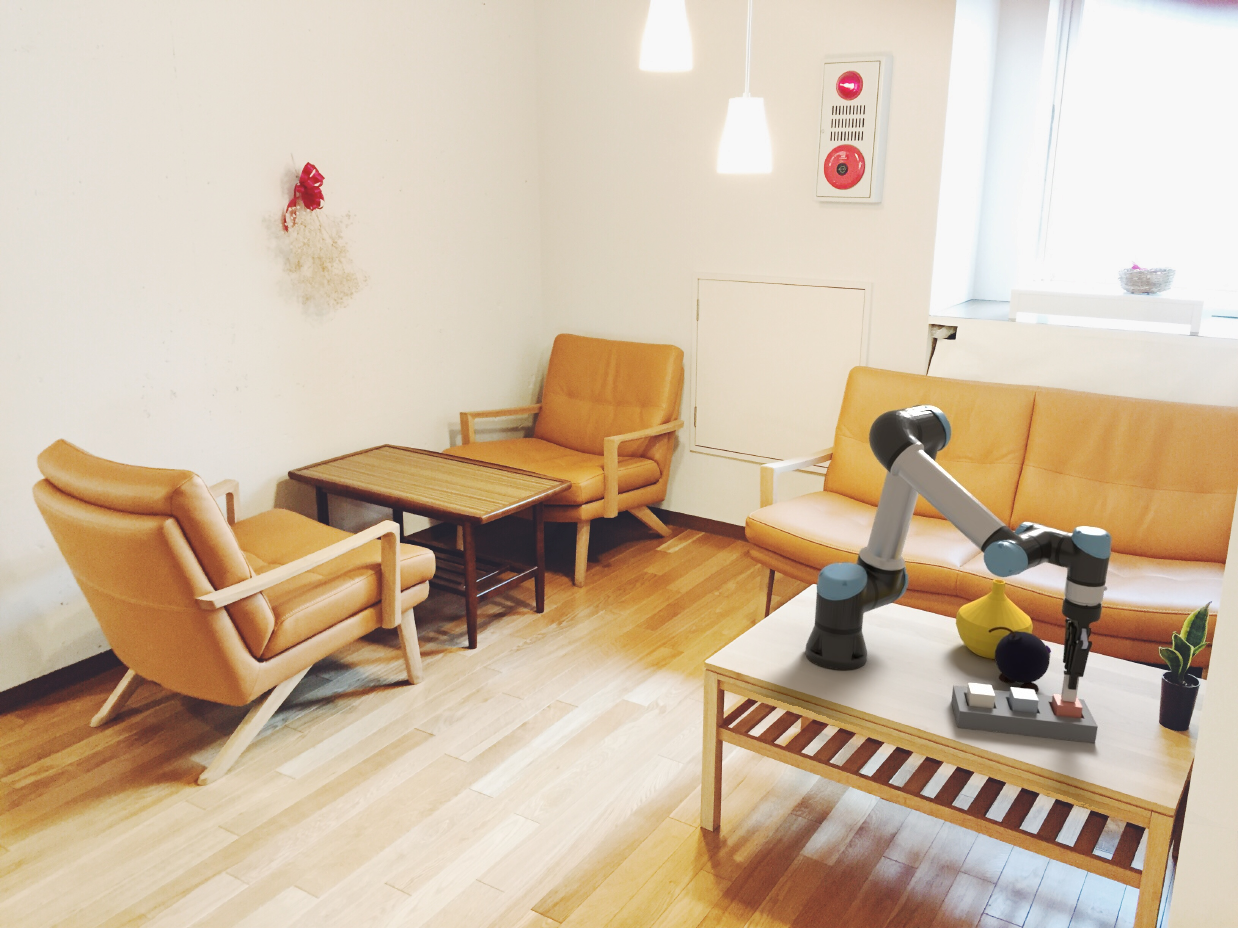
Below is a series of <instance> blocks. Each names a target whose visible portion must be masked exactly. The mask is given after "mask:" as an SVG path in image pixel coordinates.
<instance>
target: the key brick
mask: <svg viewBox="0 0 1238 928" xmlns="http://www.w3.org/2000/svg"><path fill="white" fill-rule="evenodd" d="M1052 696H1053V697H1052V704H1051V709H1052V711H1053V714H1054V715H1056V716H1065V717H1074V718H1081V715H1082V708H1083V707H1082V705H1081V703H1080V701H1079V699H1080V698H1079V697H1078V696H1077V697H1076V702H1068V701H1062V699H1061V694H1057V693H1056V694H1055V693H1053V694H1052Z"/></svg>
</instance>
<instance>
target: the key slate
mask: <svg viewBox="0 0 1238 928" xmlns="http://www.w3.org/2000/svg"><path fill="white" fill-rule="evenodd" d="M1009 687H1010V686H1009ZM1009 691H1010V693H1009V701H1008V704H1009V706H1010V709H1011V711H1020V712H1029V713H1037V709H1038V702H1039V700H1038V698H1037V695H1036V693H1037V692H1035V691H1034V690H1033V689H1024V688H1021V687H1012V686H1011V687H1010V688H1009Z"/></svg>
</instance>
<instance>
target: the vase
mask: <svg viewBox="0 0 1238 928" xmlns="http://www.w3.org/2000/svg"><path fill="white" fill-rule="evenodd" d="M1005 588H1006V581H1005V580H1003V579H999V578H994V579H992V587H991V591H990V592H989V593H988V594H985V595H984V596H982V597H979V598H977V599H976V600H973V601H971V602H969V603H966V604H963V605H962V606H961V607H960V608H959V609H958V611H957V613H956V617H955V626H956V628H957V632H958V635H959V638H960V640H961V641H962V642H963V644H964V645H965V646H966V647H967V648H968V649H969V650H970V651H971V652H973V653H974V654H975V655H977V656H980V657H983V658H986V659H991V660H995V650H996V647H997V645H998V643H999V642H1000V640H1001V639H1002V638H1003V637H1005V636H1006V635H1008V634H1009V633H1010V632H1009V631H1007V630H1004V629H999V630H994V631H992V632H991V633H990V632H989V630H990V629H992V628H995V627H1007V628H1009V629H1011V630H1012V631H1013V632H1014V631H1018V632H1027V633H1031V634H1033V629H1034V628H1033V627H1034V625H1033V622H1032V619H1031V617H1030V616H1029V615H1028V614H1027V613H1025V612H1024V611H1023V610H1022V609H1021V608H1020V607H1019V606H1017V605H1016V604H1015V603H1014V602H1013V601H1011V599H1010V598H1008V597H1007V595H1006V594H1005V590H1006V589H1005Z"/></svg>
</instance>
